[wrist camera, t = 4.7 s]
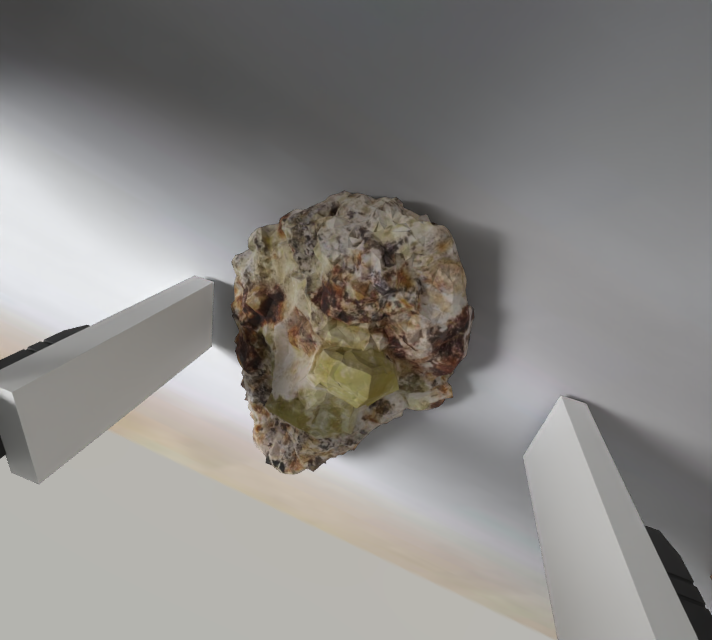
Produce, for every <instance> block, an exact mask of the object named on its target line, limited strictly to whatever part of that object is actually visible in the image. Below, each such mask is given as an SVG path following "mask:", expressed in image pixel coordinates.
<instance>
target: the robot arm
mask: <svg viewBox="0 0 712 640" xmlns="http://www.w3.org/2000/svg"><path fill="white" fill-rule="evenodd" d="M213 296H214V282H213V281H210V280H207V279H204V278H201V277H198V276H193V277H191V278H189V279H186V280H184V281H182V282H180V283H178V284H176V285H174V286H172V287H170V288H168V289H166V290H164V291H162V292H160V293H158V294H155V295H153V296H151V297H149V298H147V299H145V300H143V301H141V302H139V303H137V304H135V305H133V306H131V307H129V308H127V309H125V310H122V311H120V312H118V313H116V314H114V315H112V316H110V317H108V318H106V319H104V320H102V321H100V322H98V323H96V324H94V325H91V326H89V325H84V326H80V327H76V328H72V329H68V330H64V331H62V332H60V333H58V334H55V335H53V336H51V337H49V338H47V339H45V340H44V342H38V343H36V344H34V345H32V346H29V347H28V349H27V350H24V349H23V350H21V351H19V352H17V353H14V354H12V355H10V356H8V357H6V358H4V359H1V360H0V458H2V457H3V456H4V455H6V458H7V461H8V464H9V467H10V470H11V472H12V473H14V474H16V475H19V476H21V477H23V478H25V479H27V480H30V481H32V482H34V483H37V484H40V483H41V482H42V481H44V480H45V479H46V478H48V477H49V476H50V475H51V474H53V473H54V472H55V471H56V470H58V469H59V468H60V467H61V466H63V465H64V464H65V463H66V462H68V461H69V460H70V459H71V458H73V457H74V456H75V455H76V454H78V453H79V452H80V451H81V450H83V449H84V448H85V447H86V446H88V445H89V444H90V443H91V442H93V441H94V440H95V439H96V438H98V437H99V436H100V435H101V434H103V433H104V432H105V431H106V430H108V429H109V428H110V427H111V426H113V425H114V424H115V423H116V422H118V421H119V420H120V419H121V418H123V417H124V416H125V415H126V414H128V413H129V412H130V411H131V410H133V409H134V408H135V407H137V406H138V405H139V404H140V403H142V402H143V401H144V400H145V399H147V398H148V397H149V396H150V395H152V394H153V393H154V392H155V391H157V390H158V389H159V388H160V387H162V386H163V385H164V384H165V383H167V382H168V381H169V380H170V379H172V378H173V377H174V376H175V375H177V374H178V373H179V372H180V371H182V370H183V369H184V368H185V367H187V366H188V365H189V364H190V363H192V362H193V361H194V360H195V359H197V358H198V357H199V356H200V355H202V354H203V353H204V352H205V351H207V350H208V349H209V348H210V347H212V324H213ZM523 459H524V465H525V470H526V475H527V480H528V486H529V491H530V496H531V501H532V507H533V512H534V517H535V522H536V528H537V533H538V538H539V543H540V549H541V554H542V559H543V564H544V570H545V575H546V580H547V585H548V591H549V596H550V601H551V606H552V612H553V617H554V622H555V627H556V633H557V638H558V640H712V615H711V613H710V611H709V610H708V609H706V608H705V602H704V600H703V598H702V596H701V594H700V592H699V591H698V589H697V587H695V586H694V585H693V582H694V581H693V579H692V577H691V575H690V574H689V572H688V570H687V568H686V566H685V564H684V562H683V560H682V558H681V556H680V555H679V554H678V553H677V551H676V550H675V549H674V548H673V547H672V545H671V544H670V543H669V542H668V541H667V539H666V538H665V537H664V536H663V535H662V533H661V532H660V531H659V530H656V529H653V528H650V527H648V526H645V525H644V524H643V522H642V520H641V518H640V516H639V514H638V511H637V509H636V507H635V505H634V503H633V501H632V499H631V497H630V495H629V493H628V490H627V488H626V486H625V484H624V482H623V480H622V478H621V476H620V474H619V471H618V469H617V467H616V465H615V463H614V461H613V459H612V457H611V455H610V453H609V450H608V448H607V446H606V444H605V442H604V440H603V438H602V436H601V434H600V431H599V429H598V427H597V425H596V423H595V421H594V419H593V417H592V415H591V413H590V410H589V408H588V406H587V404H586V403H583V402H580V401H577V400H574V399H571V398H568V397H565V396H562V395H561V396H560V397H559V399H558V401H557V402H556V404H555V405H554V407H553V409H552V410H551V412H550V413H549V415H548V417H547V418H546V420H545V421H544V423H543V425H542V426H541V428H540V430H539V431H538V433H537V434H536V436H535V438H534V439H533V441H532V442H531V444H530V446H529V447H528V449H527V450H526V452H525V454H524V455H523Z"/></svg>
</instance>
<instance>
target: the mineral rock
mask: <svg viewBox="0 0 712 640" xmlns="http://www.w3.org/2000/svg"><path fill="white" fill-rule="evenodd" d="M248 248H249V249H248V250H247V251H245V252H244V253H241V254H237V255H235V256H234V258H233V260H232V265H233V268H234V270H235V273H236V275H237V276H236V279H235V282H234V294H235V300H234V301H233V302H232V303H231V309H232V313H233V315H232V316H233V318H234V320H235V322H236V324H237V326H238V329H239V333H238V335H237V336H236V338H235V341H234V342H235V343H236V344H237V347H236V350H235V352H236V354H237V359H238V361H239V363H240V365H241V367H242V368H243V370H242V373H241V374H242V375H243V380H242V382H241V386H242V387H243V388H244V389H245V390H246V391H247V392H246V398H245V400H247V401H249V404H248V408H249V409H250V411H251V413H250V416H251V417H252V418H253V419H254V429H253V441H254V444H255V445H256V447H257V448H258V449H259V450H260V451H261V452H262V453H263V454H264V455H265V456H266V463H267V464H270V465H272V466H273V467H274V468H276V469H277V470H278V471H279V472H281V473H284V474H298V473H300V472H302V471H303V470H305V469H310V470H312V471H313V472H314V471H315V470H316V469H317V468H318V467H319V466H320V465H321V464H323V463H326V460H328V459H329V458H335V457H336V456H337V455H343V454H345V453H346V452H347V451H349V450H354V449H355V448H356V447H357V446H358V444H359V443H360V442H361V441H362V440H363V439H364V438H365V437H366V436H367V435H368V434H369V433H370V432H371V431H372V430H373V429H375V428H377V427H378V426H380V425H381V424H386V423H388V422H390V421H391V420H392V419H394V418H398V417H401V416H402V415H403V411H404V410H405V409H406V408H408V409H412V410H416V411H419V410H429V409H432V408H436V407H439V406H440V405H441V404H443V402H444V400H445V398H453V393H452V387H451V386H450V384H449V383H448V382H447V381H448V379H449V377H450V376H451V375H452V374H453V373H454V371H453V370H454V369H455V368H456V366H457V365H458V364H459V363H460V362H461V361H462V360H463V359H464V358H465V357H466V354H467V349H468V344H469V339H470V332H471V325H472V321H473V319H474V310H473V308H472V307H471V306H469V305H468V302H467V297H466V292H465V289H466V283H467V280H466V276H465V272H464V269H463V267H462V264H461V261H460V258H459V255H458V252H457V248H456V244H455V241H454V239H453V237H452V235H451V233H450V231H449V230H448V229H447V228H446V227H445V226H444V225H437V224H435V223H433V222H432V223H431V222H430V220H429V218H428V216H427V215H421V216H419V215H418V214H416V213H414V212H412V211H410V210H407V209H405V208H404V207H403V203H402V202H401V201H400V200H399V199H398V198H397V197H395V198H387V197H383V198H377V199H374V198H372V197H370V196H368V195H365V194H360V193H356V194H351V193H349V192H347V191H345V190H344V191H342V192H341V193H338V194H334V195H330V196H329V197H328V198H327V199H326V200H325V201H323V202H321V203H318V204H316V205H314V206H311V207H309V208H308V209H304V210H302V209H295V210H293V211H291V212H290V213H288V214H286V215H285V216H283V217H282V218H280V221H279V224H274V225H266V226H264V227H260V228H258V229H256V230H255V231H254V232H253V233H251V235H250V237H249V239H248Z"/></svg>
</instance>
